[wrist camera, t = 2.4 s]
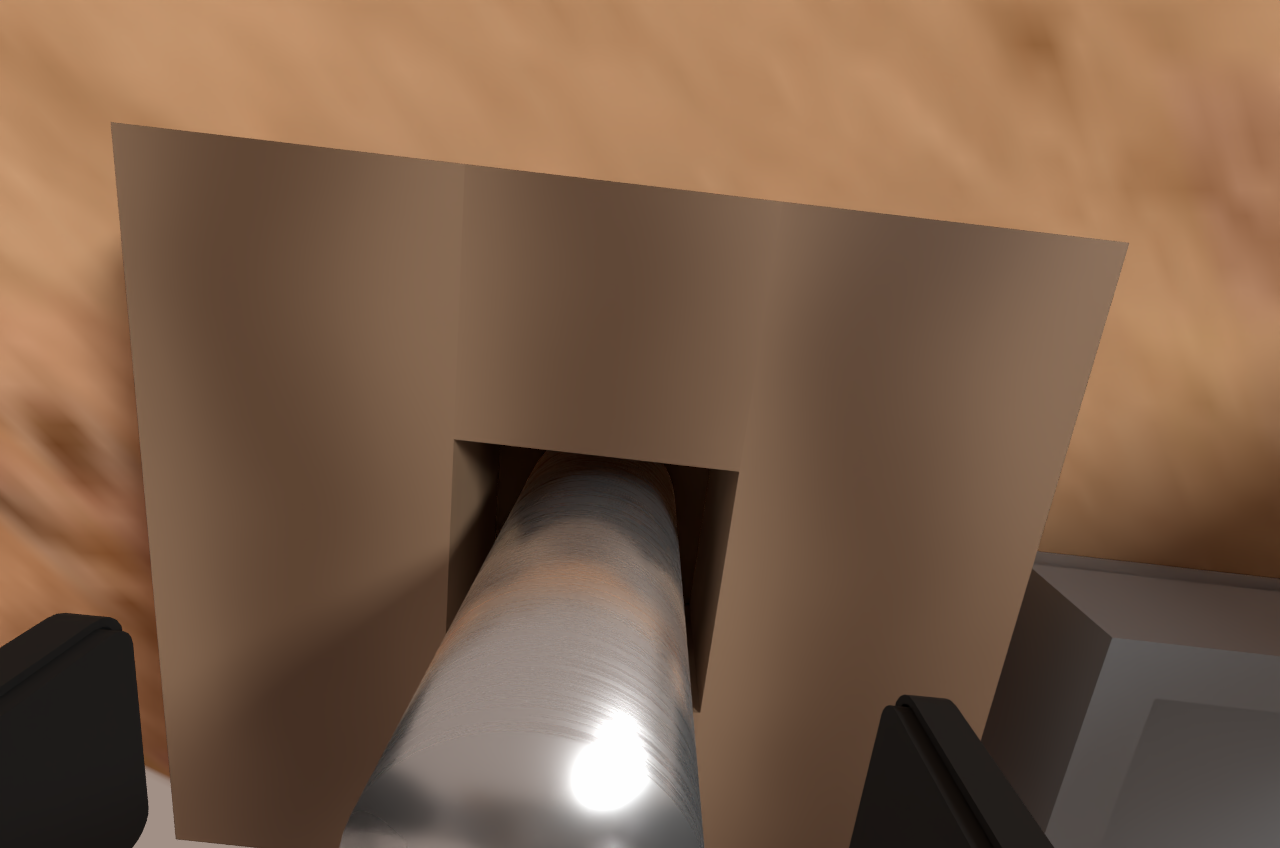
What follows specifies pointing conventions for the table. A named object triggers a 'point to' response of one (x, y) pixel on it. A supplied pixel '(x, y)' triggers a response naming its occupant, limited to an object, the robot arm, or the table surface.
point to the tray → (1142, 705)
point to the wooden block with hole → (577, 423)
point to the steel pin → (555, 683)
